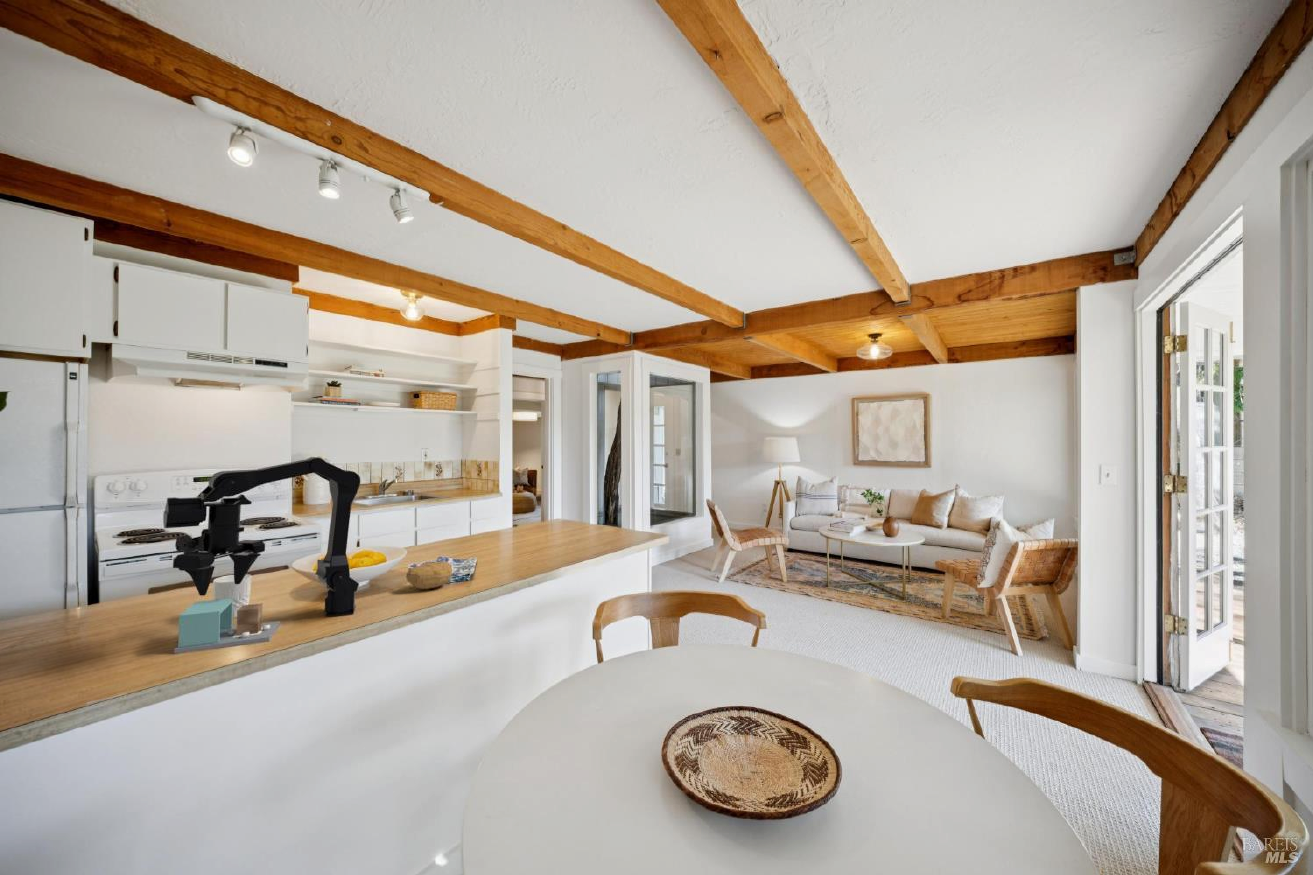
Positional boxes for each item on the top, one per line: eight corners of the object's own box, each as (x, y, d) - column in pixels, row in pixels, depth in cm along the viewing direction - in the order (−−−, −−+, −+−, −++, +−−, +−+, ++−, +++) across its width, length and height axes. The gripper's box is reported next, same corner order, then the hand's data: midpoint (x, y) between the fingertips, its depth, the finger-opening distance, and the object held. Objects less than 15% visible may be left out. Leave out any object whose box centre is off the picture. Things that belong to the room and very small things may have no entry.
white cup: (233, 620, 129) (234, 582, 129) (203, 619, 129) (204, 581, 129) (258, 610, 137) (259, 574, 137) (230, 609, 137) (231, 573, 137)
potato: (401, 588, 159) (402, 564, 158) (445, 580, 168) (446, 557, 168) (411, 596, 151) (411, 570, 151) (456, 587, 161) (457, 563, 161)
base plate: (279, 624, 127) (279, 617, 127) (269, 641, 117) (269, 632, 117) (193, 635, 119) (193, 627, 119) (174, 653, 109) (174, 644, 109)
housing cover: (232, 627, 122) (232, 598, 122) (218, 642, 113) (219, 611, 113) (195, 631, 119) (195, 601, 119) (178, 647, 110) (179, 615, 110)
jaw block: (261, 627, 122) (262, 603, 122) (257, 633, 119) (258, 608, 119) (241, 629, 121) (242, 605, 121) (236, 635, 117) (237, 610, 117)
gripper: (225, 517, 127) (222, 577, 126) (150, 529, 108) (146, 600, 108) (268, 518, 126) (265, 579, 126) (200, 531, 108) (196, 602, 108)
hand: (220, 589), depth 117 cm, fingers open, 9 cm apart
